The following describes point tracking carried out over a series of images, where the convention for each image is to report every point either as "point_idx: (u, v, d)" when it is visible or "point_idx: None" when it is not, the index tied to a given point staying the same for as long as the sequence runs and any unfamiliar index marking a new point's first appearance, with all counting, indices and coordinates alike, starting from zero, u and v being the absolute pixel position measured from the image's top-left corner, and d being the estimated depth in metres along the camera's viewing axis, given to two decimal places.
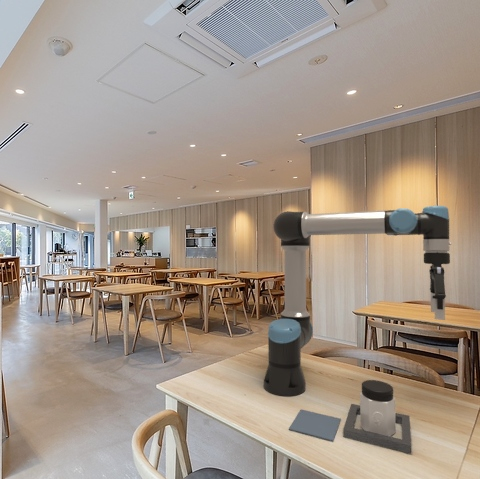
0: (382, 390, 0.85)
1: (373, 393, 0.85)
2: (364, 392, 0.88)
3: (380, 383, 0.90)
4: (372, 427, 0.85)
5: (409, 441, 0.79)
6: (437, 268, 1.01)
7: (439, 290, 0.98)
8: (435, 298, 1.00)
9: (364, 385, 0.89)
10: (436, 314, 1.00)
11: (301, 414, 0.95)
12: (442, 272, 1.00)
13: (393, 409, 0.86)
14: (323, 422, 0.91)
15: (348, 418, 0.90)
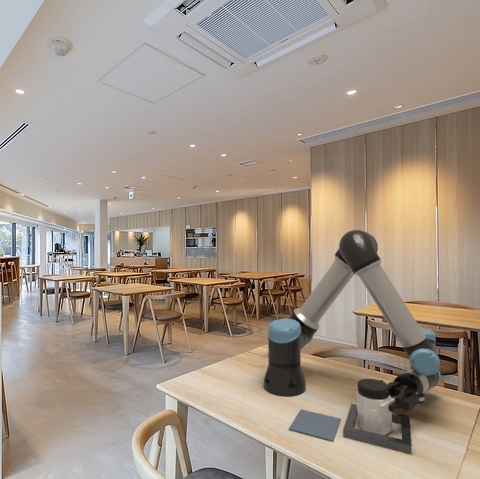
0: (377, 388, 0.86)
1: (367, 391, 0.86)
2: (359, 390, 0.89)
3: (376, 382, 0.91)
4: (367, 425, 0.86)
5: (409, 441, 0.79)
6: (423, 397, 0.91)
7: (409, 404, 0.87)
8: (396, 400, 0.88)
9: (360, 383, 0.90)
10: (385, 406, 0.85)
11: (301, 414, 0.95)
12: (420, 402, 0.91)
13: None
14: (323, 422, 0.91)
15: (348, 418, 0.90)
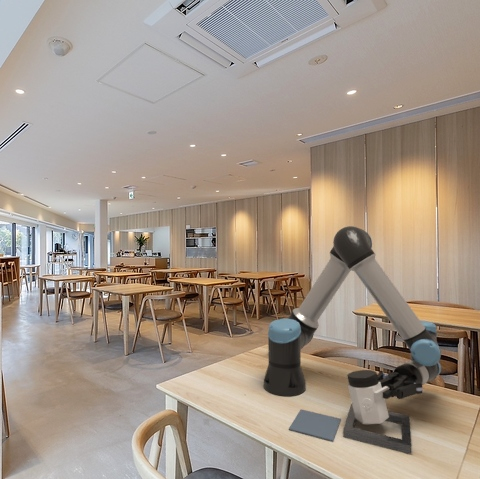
0: (366, 376, 0.88)
1: (358, 380, 0.88)
2: (350, 382, 0.90)
3: (365, 371, 0.93)
4: (364, 415, 0.86)
5: (409, 441, 0.79)
6: (421, 387, 0.91)
7: (404, 392, 0.88)
8: (390, 388, 0.89)
9: (349, 375, 0.91)
10: (379, 393, 0.86)
11: (301, 414, 0.95)
12: (418, 392, 0.91)
13: None
14: (323, 422, 0.91)
15: (348, 418, 0.90)
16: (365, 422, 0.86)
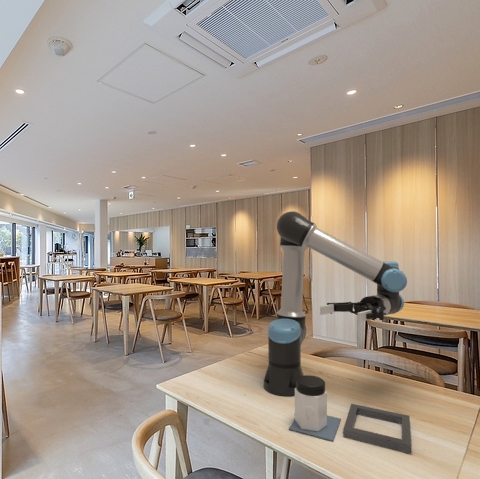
0: (314, 385, 0.88)
1: (305, 388, 0.87)
2: (297, 387, 0.89)
3: (314, 378, 0.92)
4: (304, 421, 0.87)
5: (409, 441, 0.79)
6: (385, 309, 1.03)
7: (383, 314, 0.97)
8: (374, 311, 0.97)
9: (298, 380, 0.91)
10: (362, 313, 0.94)
11: None
12: (384, 314, 1.02)
13: (324, 403, 0.89)
14: None
15: (348, 418, 0.90)
16: (303, 427, 0.87)
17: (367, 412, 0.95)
